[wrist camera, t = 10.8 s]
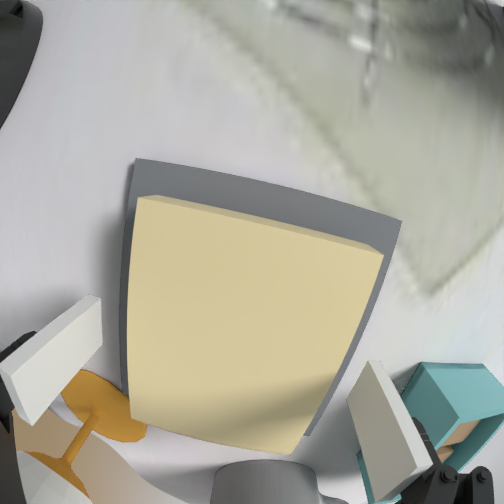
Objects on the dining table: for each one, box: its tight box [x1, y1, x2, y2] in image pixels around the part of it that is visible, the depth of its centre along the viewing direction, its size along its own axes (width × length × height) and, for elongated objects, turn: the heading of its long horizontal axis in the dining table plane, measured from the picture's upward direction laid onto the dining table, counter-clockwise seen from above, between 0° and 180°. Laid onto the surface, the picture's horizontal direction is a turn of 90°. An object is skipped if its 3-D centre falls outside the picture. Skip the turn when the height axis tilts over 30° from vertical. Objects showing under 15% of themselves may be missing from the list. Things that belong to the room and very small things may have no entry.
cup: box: [16, 370, 146, 504], centre depth 11 cm, size 9×9×16 cm
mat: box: [119, 158, 402, 436], centre depth 15 cm, size 14×16×1 cm
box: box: [357, 362, 504, 504], centre depth 14 cm, size 8×11×6 cm
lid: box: [127, 195, 384, 455], centre depth 13 cm, size 10×13×3 cm
